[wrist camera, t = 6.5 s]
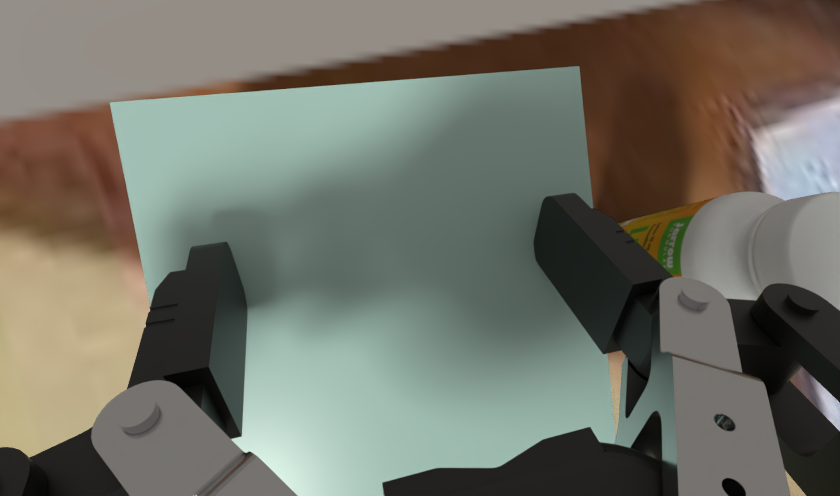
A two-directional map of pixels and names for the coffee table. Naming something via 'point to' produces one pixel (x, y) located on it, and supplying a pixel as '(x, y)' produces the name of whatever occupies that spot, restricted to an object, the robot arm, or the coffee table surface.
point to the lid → (381, 265)
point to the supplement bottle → (749, 243)
